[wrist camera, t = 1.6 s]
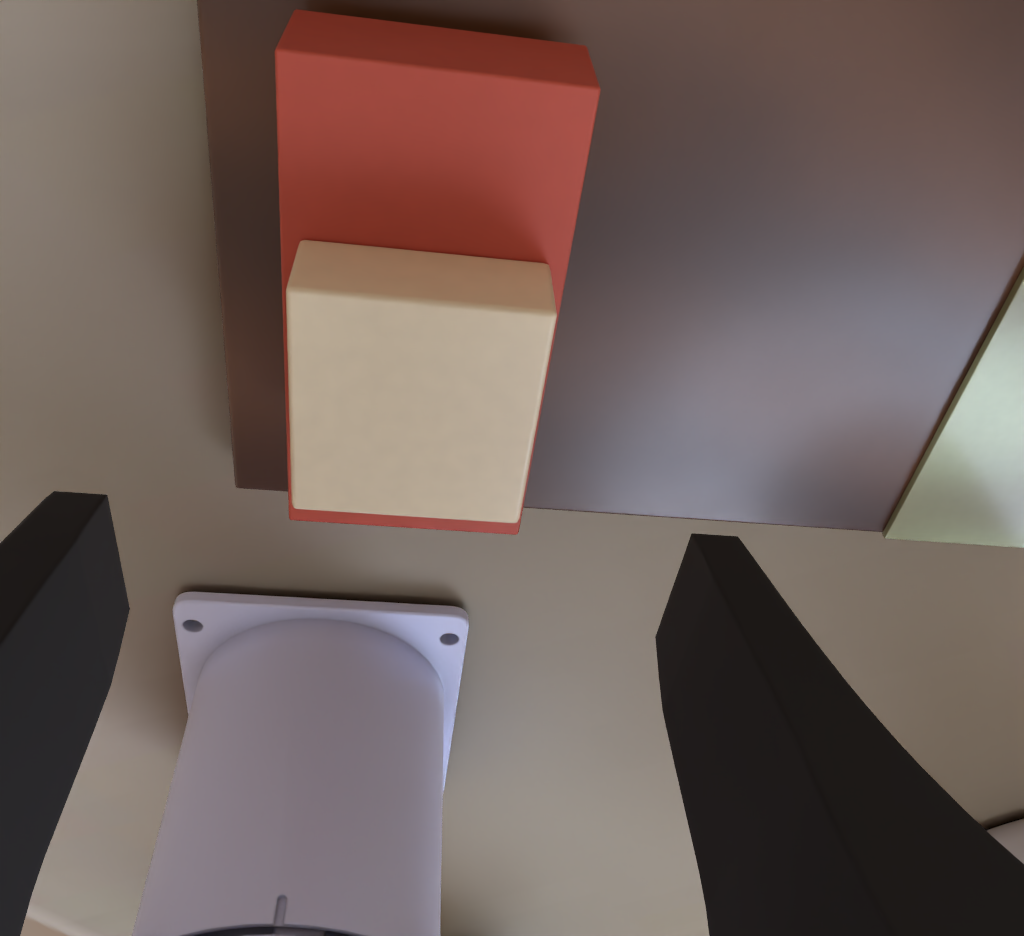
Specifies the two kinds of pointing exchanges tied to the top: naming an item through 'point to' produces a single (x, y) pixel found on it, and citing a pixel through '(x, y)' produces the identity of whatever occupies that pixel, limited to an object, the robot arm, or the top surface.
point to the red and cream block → (422, 262)
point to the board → (725, 258)
